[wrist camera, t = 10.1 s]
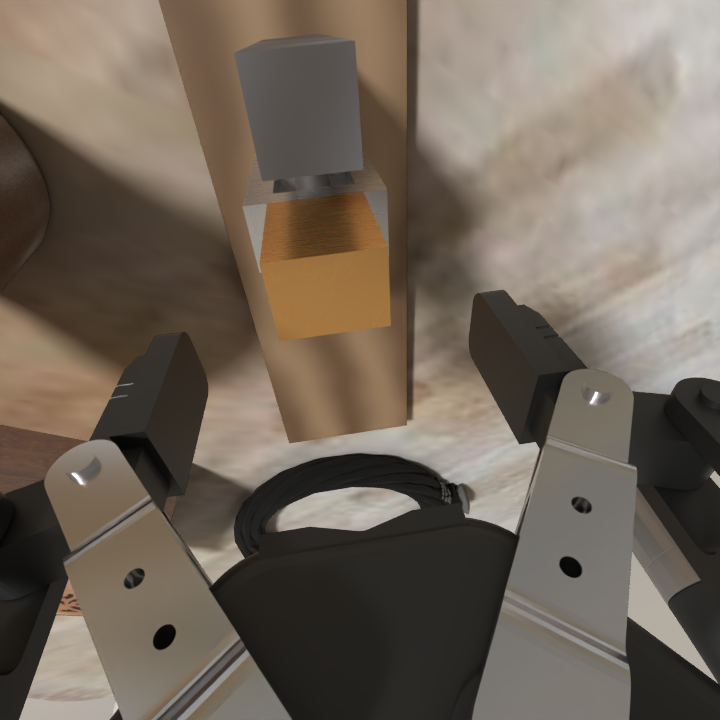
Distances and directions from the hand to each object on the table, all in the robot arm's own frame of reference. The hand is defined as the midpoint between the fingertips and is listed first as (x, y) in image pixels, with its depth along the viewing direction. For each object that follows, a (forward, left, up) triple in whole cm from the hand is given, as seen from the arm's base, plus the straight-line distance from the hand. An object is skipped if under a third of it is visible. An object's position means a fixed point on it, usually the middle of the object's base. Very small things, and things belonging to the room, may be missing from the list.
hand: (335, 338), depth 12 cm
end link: (0, +3, -17) cm, 17 cm away
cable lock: (+1, +43, -20) cm, 47 cm away
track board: (0, +8, -19) cm, 21 cm away
